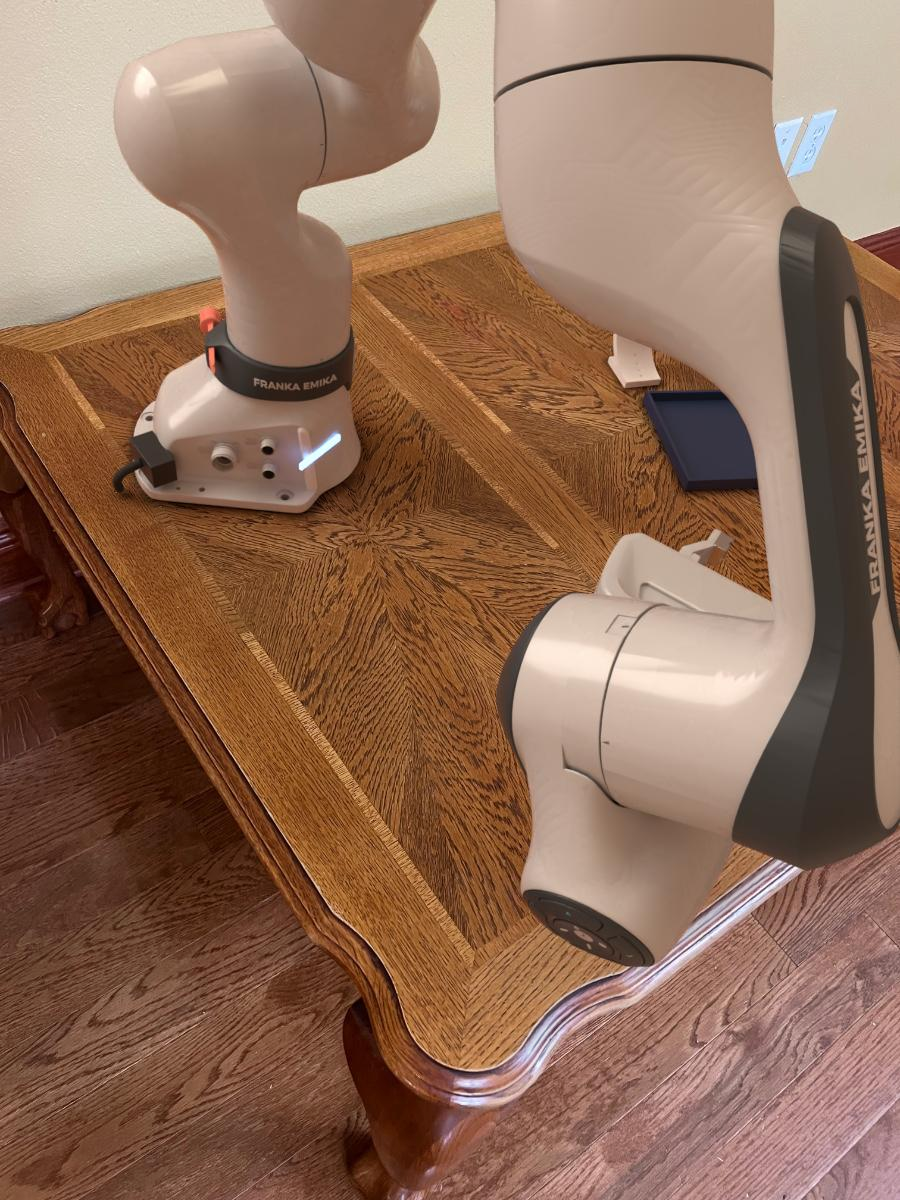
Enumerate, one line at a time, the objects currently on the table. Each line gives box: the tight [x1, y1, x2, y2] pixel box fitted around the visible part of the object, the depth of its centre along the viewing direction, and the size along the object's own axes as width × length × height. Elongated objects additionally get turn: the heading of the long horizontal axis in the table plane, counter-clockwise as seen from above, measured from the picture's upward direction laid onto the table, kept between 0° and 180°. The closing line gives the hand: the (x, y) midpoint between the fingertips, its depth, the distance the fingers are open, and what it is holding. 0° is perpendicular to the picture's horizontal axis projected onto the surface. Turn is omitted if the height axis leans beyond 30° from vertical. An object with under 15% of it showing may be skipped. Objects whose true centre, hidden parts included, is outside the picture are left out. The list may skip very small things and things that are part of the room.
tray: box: [642, 389, 759, 492], centre depth 105 cm, size 15×15×2 cm
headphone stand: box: [607, 333, 662, 389], centre depth 107 cm, size 5×6×12 cm
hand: (785, 573), depth 63 cm, fingers open, 8 cm apart
